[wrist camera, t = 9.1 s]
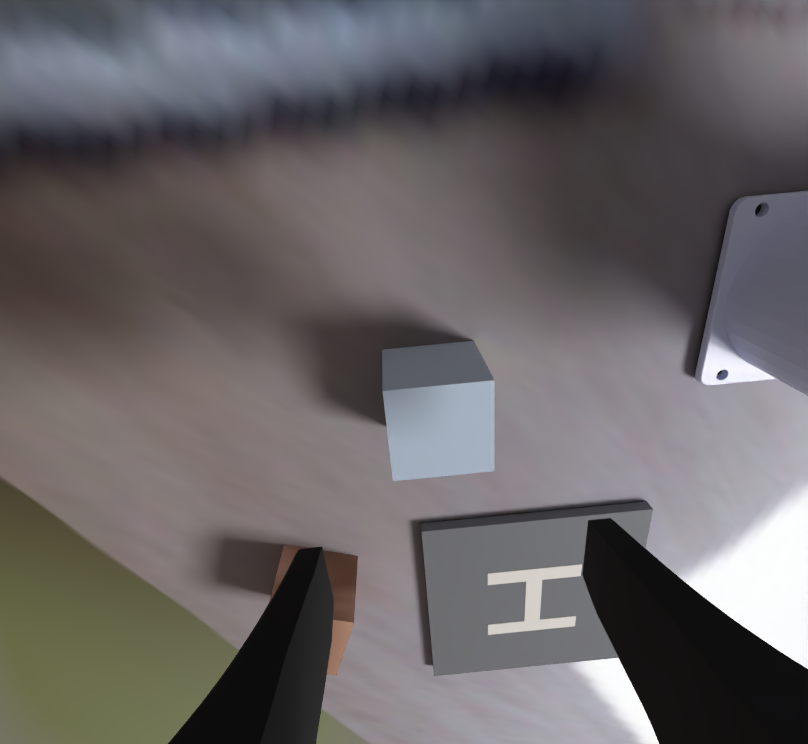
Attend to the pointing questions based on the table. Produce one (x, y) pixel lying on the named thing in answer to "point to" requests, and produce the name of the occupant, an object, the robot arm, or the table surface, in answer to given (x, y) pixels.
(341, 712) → the table surface
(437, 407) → the pale blue cube
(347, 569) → the terracotta block
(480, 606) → the board
